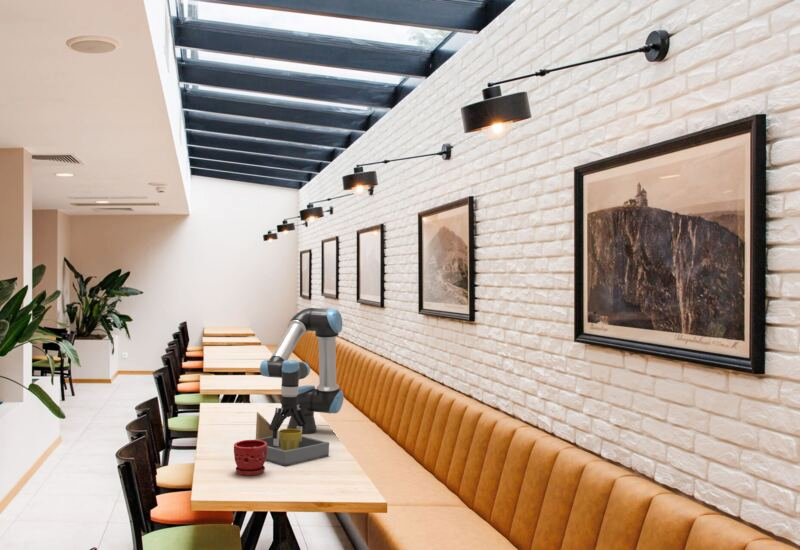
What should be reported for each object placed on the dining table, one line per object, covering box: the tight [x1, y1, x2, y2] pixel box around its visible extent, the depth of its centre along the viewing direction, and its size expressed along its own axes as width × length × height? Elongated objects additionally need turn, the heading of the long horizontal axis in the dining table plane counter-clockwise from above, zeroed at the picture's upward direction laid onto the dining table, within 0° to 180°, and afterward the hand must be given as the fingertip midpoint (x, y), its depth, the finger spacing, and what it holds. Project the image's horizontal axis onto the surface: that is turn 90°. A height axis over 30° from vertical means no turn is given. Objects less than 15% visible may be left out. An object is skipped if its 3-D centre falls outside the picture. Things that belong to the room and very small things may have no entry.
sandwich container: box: [255, 411, 273, 439], centre depth 338 cm, size 9×15×15 cm, turn 108°
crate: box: [248, 435, 330, 467], centre depth 318 cm, size 26×26×6 cm
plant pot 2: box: [278, 428, 303, 451], centre depth 319 cm, size 10×10×10 cm
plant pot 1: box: [233, 439, 267, 476], centre depth 287 cm, size 13×13×12 cm
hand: (287, 443), depth 318 cm, fingers open, 13 cm apart
